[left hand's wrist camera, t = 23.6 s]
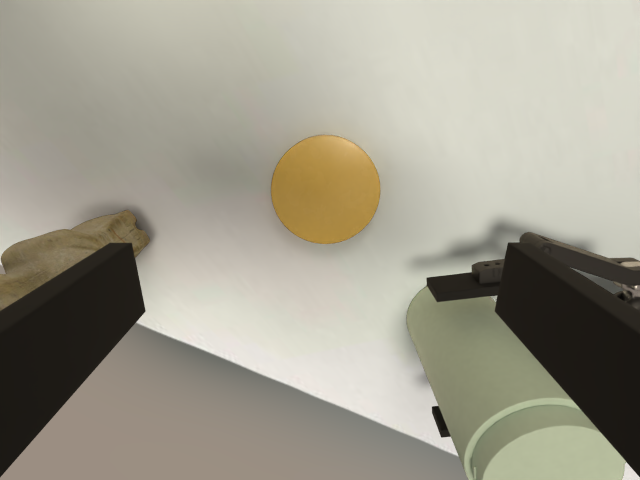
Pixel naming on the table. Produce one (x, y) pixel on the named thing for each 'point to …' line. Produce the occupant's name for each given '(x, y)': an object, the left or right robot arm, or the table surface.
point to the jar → (503, 398)
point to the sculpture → (62, 252)
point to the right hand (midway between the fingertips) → (433, 360)
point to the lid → (325, 189)
